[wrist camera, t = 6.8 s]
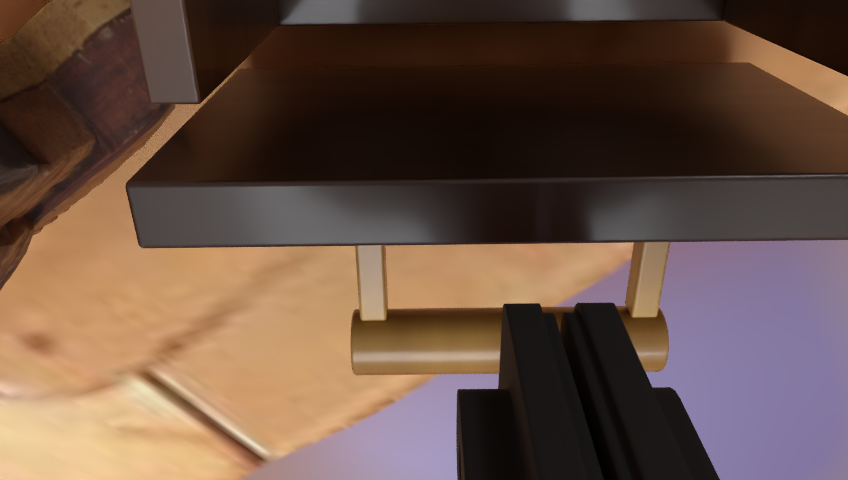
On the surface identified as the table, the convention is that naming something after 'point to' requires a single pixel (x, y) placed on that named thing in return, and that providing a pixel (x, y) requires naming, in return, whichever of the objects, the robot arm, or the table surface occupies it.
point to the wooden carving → (67, 113)
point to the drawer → (486, 153)
